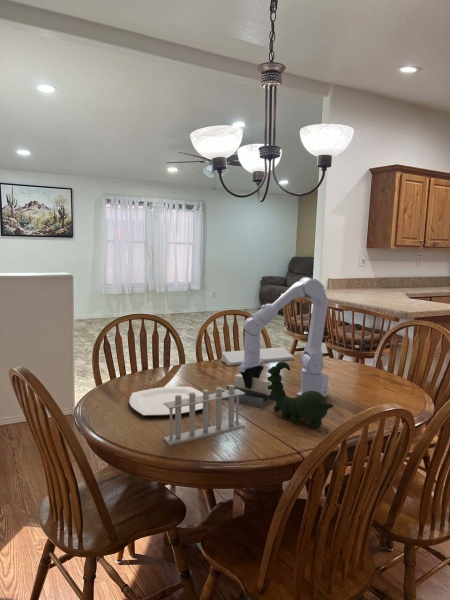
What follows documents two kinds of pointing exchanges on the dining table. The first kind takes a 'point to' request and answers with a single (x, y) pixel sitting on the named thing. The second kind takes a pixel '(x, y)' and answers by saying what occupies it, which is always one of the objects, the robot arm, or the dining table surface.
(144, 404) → the plate
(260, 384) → the clay strip
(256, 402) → the grey grooved block
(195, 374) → the dining table surface
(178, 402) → the test tube rack
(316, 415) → the toy figurine
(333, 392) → the dining table surface
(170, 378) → the dining table surface
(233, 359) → the decorative molding
